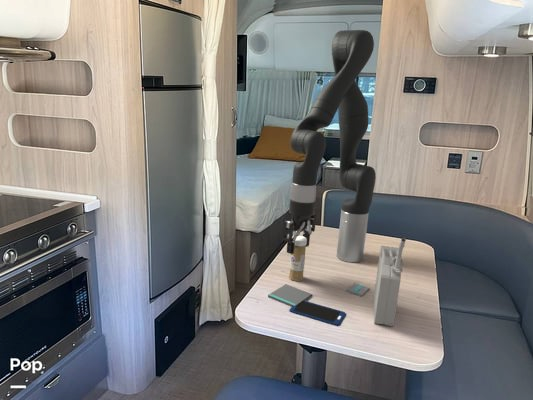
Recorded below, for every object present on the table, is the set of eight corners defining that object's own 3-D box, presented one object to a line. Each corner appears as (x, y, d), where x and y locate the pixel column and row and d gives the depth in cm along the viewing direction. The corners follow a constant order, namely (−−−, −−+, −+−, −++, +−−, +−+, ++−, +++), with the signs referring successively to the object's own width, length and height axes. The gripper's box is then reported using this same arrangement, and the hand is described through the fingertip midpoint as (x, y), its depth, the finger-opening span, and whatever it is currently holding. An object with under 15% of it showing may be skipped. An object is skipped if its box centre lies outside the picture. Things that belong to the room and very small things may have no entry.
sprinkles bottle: (285, 278, 135) (288, 237, 131) (294, 273, 138) (297, 233, 134) (298, 283, 132) (301, 241, 128) (306, 278, 136) (310, 237, 132)
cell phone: (338, 327, 110) (338, 325, 110) (288, 312, 116) (288, 310, 116) (346, 314, 117) (346, 312, 116) (298, 301, 122) (298, 298, 122)
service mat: (285, 285, 130) (285, 283, 130) (311, 295, 125) (311, 293, 125) (267, 296, 123) (268, 294, 123) (294, 307, 118) (294, 305, 118)
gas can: (394, 333, 109) (409, 239, 102) (374, 329, 110) (387, 237, 103) (391, 303, 123) (404, 220, 116) (373, 300, 124) (384, 217, 117)
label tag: (354, 284, 133) (354, 282, 133) (369, 289, 131) (369, 287, 130) (345, 290, 129) (345, 289, 129) (361, 296, 126) (361, 294, 126)
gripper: (300, 205, 120) (295, 259, 125) (325, 196, 131) (320, 246, 136) (278, 199, 124) (274, 252, 129) (304, 191, 136) (300, 240, 140)
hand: (298, 249), depth 132 cm, fingers open, 8 cm apart
